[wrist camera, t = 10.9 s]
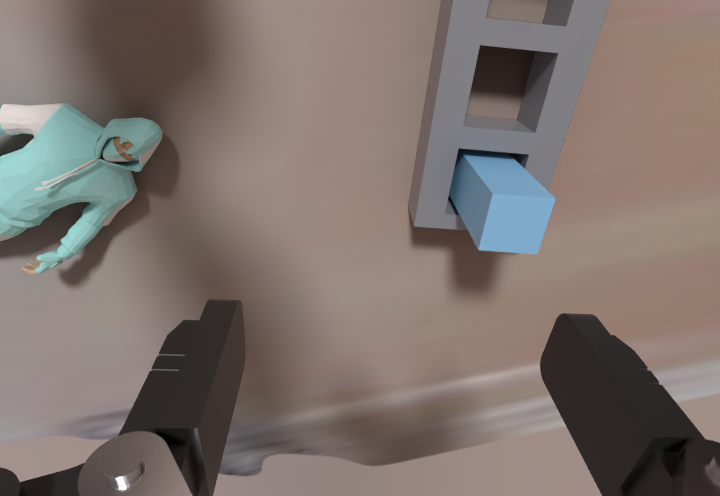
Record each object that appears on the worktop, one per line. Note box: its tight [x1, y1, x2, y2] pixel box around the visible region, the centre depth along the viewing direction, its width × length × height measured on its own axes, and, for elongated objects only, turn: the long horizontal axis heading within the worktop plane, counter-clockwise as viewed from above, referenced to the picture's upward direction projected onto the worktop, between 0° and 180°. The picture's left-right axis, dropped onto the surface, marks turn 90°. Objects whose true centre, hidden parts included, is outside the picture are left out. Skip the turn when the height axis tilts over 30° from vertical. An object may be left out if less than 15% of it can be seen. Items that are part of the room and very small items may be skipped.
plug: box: [449, 148, 556, 254], centre depth 33 cm, size 4×4×11 cm
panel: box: [408, 0, 610, 231], centre depth 32 cm, size 22×10×4 cm, turn 175°
